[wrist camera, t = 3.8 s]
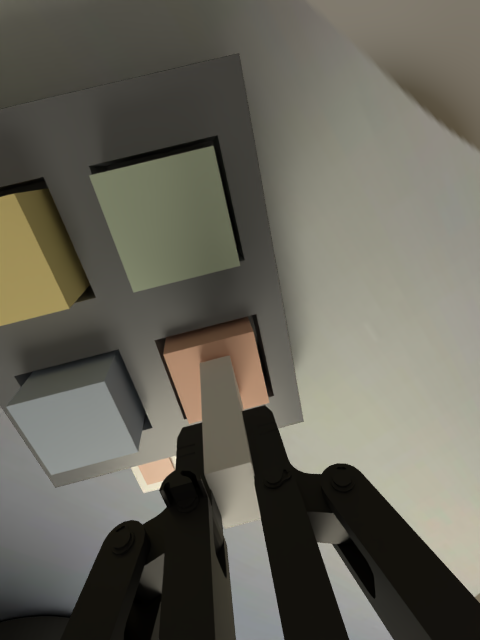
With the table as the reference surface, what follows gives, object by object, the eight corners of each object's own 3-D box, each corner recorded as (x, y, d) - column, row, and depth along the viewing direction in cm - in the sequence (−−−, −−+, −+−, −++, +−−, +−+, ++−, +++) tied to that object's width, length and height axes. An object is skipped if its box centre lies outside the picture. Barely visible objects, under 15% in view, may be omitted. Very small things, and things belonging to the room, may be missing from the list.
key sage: (144, 268, 17) (133, 292, 14) (110, 173, 15) (89, 175, 12) (230, 247, 17) (240, 265, 14) (208, 150, 15) (213, 145, 12)
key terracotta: (189, 385, 21) (189, 424, 18) (167, 323, 19) (163, 354, 16) (257, 367, 21) (269, 402, 18) (243, 304, 19) (253, 331, 16)
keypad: (74, 443, 23) (55, 487, 20) (-96, 152, 15) (-172, 148, 12) (288, 386, 23) (303, 421, 20) (229, 76, 16) (238, 53, 12)
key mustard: (3, 303, 16) (-41, 336, 13) (-49, 212, 15) (-115, 224, 11) (92, 281, 17) (69, 308, 13) (52, 187, 15) (14, 193, 12)
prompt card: (144, 486, 25) (143, 495, 25) (125, 447, 24) (123, 456, 23) (261, 454, 26) (263, 463, 25) (250, 414, 24) (252, 422, 23)
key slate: (73, 425, 20) (51, 475, 17) (38, 364, 18) (6, 406, 15) (146, 407, 20) (138, 452, 17) (119, 343, 18) (104, 381, 15)
